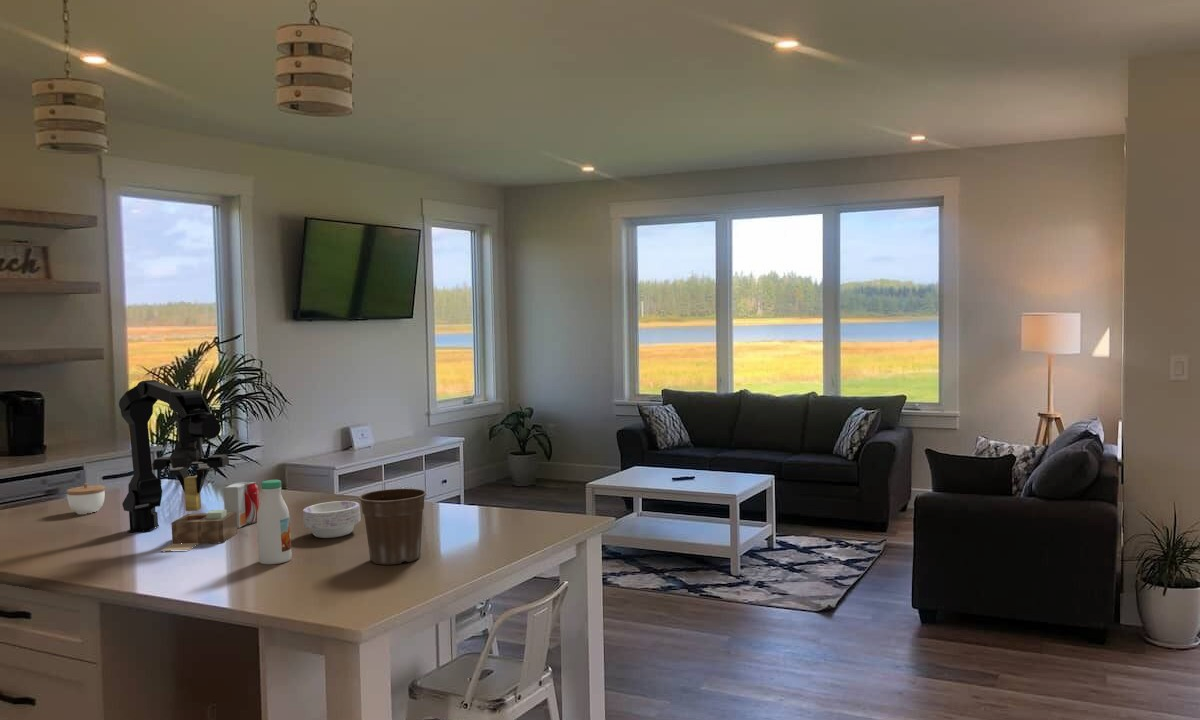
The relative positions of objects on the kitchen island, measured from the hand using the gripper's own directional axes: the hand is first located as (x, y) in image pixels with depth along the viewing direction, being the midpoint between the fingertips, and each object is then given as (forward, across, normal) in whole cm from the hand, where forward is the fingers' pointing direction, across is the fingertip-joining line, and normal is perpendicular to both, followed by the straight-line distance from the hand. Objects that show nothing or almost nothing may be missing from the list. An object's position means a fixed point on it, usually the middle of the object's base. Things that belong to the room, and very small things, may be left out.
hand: (192, 493), depth 254 cm
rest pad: (+13, 0, -10) cm, 16 cm away
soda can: (+13, +8, +19) cm, 24 cm away
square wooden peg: (+4, 0, 0) cm, 5 cm away
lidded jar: (+13, -50, +44) cm, 68 cm away
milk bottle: (+13, +30, -27) cm, 42 cm away
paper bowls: (+13, +38, -1) cm, 40 cm away
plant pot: (+13, +60, -30) cm, 68 cm away
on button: (+8, +6, 0) cm, 10 cm away
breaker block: (+13, +3, 0) cm, 13 cm away
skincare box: (+13, +7, +14) cm, 21 cm away
